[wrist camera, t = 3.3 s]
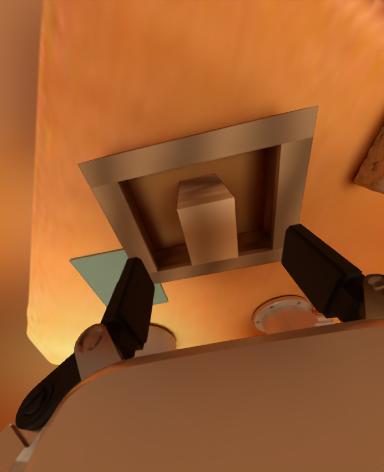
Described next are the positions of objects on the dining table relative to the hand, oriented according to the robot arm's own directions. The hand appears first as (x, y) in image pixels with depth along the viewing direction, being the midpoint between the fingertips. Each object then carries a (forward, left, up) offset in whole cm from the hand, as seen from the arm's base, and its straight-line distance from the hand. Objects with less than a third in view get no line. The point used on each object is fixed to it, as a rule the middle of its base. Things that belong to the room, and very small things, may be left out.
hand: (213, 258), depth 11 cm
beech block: (0, +1, -13) cm, 13 cm away
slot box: (0, +1, -13) cm, 13 cm away
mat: (+16, +13, -13) cm, 24 cm away
